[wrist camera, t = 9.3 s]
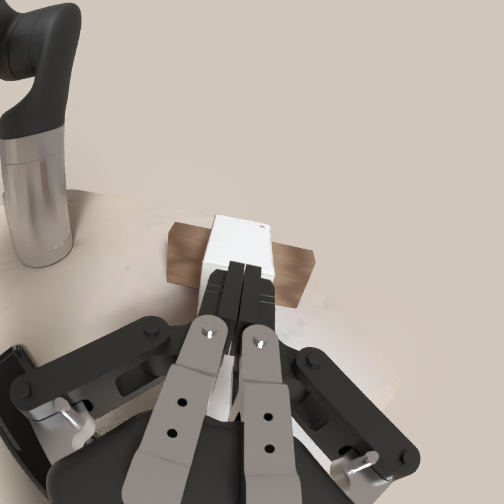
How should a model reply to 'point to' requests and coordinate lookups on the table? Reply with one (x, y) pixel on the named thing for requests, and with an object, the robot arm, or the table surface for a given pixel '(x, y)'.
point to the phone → (21, 421)
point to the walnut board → (192, 252)
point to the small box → (236, 248)
